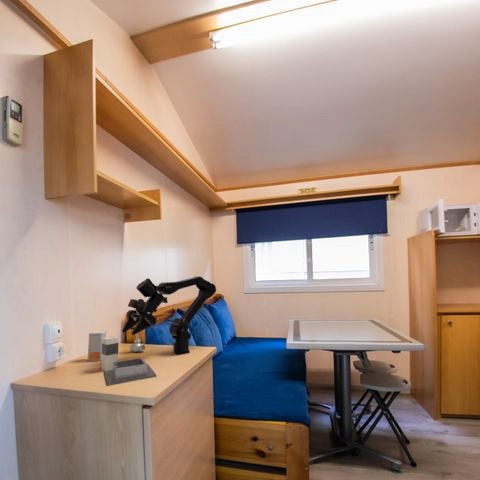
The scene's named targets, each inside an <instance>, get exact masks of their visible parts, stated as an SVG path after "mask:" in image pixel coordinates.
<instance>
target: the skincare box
mask: <svg viewBox="0 0 480 480" xmlns="http://www.w3.org/2000/svg"><path fill="white" fill-rule="evenodd" d="M106 337H107V331H92V332H89V333H88V344H87V345H88V347H87V361H88V362H95V361H97V362H102V341H103V338H106Z"/></svg>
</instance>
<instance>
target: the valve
mask: <svg viewBox="0 0 480 480" xmlns="http://www.w3.org/2000/svg"><path fill="white" fill-rule="evenodd" d="M135 327H136V325H135V326H134V327H132V328H131V329H130V330H131V331H133V330H134V328H135ZM133 342H134V343H131V344H129V351H130V352H133V353H134V352H135V353H144V351H145V350H146V344H145V343H141V342H142V340H141V339H140V332H138V333H136V334H135V339H134V341H133Z"/></svg>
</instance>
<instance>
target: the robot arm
mask: <svg viewBox="0 0 480 480" xmlns="http://www.w3.org/2000/svg"><path fill="white" fill-rule="evenodd" d="M192 286H196V288H197V289H198V294H197V296H196V297H195V298H194V300H193V301H192V303H191V304H190V305H189V307H188V308H187V309H186V311H185V312H184V313H183V314H182V316H181V317H179V318H178V317H175V318H174V319H173V321H172V322H171V323H170V324H169V325H170V327H169V329H168V330H169V334H170V335H171V337H172V339H174V340H173V343H172V349H173V350H172V353H174V354H175V355H181V354H182V355H183V354H189V353H191V351H190V347H189V345H190V343H189V340H191V338H192V333H190V332H189V328H190V323H191V321H192V320H193V319H194V317H195V316H196V314H197V313H198V311H200V309H201V308H202V306H203V305H204V304H205V302H206V301H207V300H208V299H210V298H212V297H213V296H214V295H215V294H216V292H217V287H216V285H215V284H214V283H211V282H210V281H208V280H206V279H204V278H203V277H202V276H198V275H197V276H193V277H190V278H185V279H182V280H177V281H170V282H169V281H168V282H167V281H165V282H160V283H159V284H158V285H155V284H154V283H153V282H152V280H151V279H150V278H146V279H144V280H143V281H142V282H139V283H138V284H137V286H136V288H135V289H136V290H137V291H138V292H139V293H140V294H141V296H143V297H144V298H148V299H147V300H146V301H145V300H144V299H142V298H139V299H134V298H133V299H132V298H130V300H129V302H128V305H127V307H129V308H133V309H129V310H128V311H127V312H126V313H125V315H126V319H127V320H126V322H125V324H124V326H123V328H122V330H121V333H123V334H124V333H126V332H127V331H129V330H131V328H132V327H135V326H136V327H135V328H134V330H133V329H132V330H131V333H130V334H131V335H132V336H134V335H135V336H136V334H137V333H138V332H139V333H140V332H142V331H144V330H145V329H148V328H150V327H152V326H155V324H156V323H157V322H158V321H157V317H155V316H154V315H153V314H154V313H157V311H158V310H157V309H158V308H159V307H160V306H161V304H168V302H169V301H168V297H167V296H168V295H172V294H175V293H176V292H177V291H178V290H179V291H180V290H181V289H185V288H189V287H192ZM165 295H166V296H165Z"/></svg>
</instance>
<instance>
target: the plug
mask: <svg viewBox="0 0 480 480" xmlns="http://www.w3.org/2000/svg"><path fill="white" fill-rule="evenodd" d="M118 355H119V337H118V336H114V335H113V336H108V337H107V336H106V338H103V341H102V360H101V370H102V371H103V372H105V371H108V370H113V362H116V361H119V359H118V358H119V357H118Z"/></svg>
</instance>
